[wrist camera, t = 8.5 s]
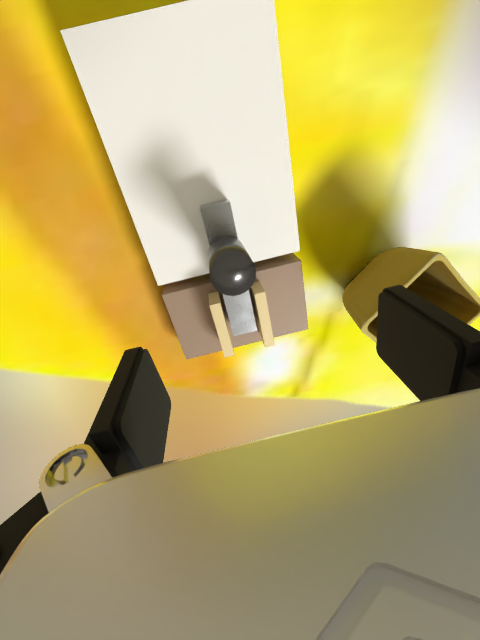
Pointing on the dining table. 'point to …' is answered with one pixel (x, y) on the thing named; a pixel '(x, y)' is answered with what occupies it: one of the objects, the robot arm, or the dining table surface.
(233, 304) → the bolt
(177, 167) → the slide latch panel
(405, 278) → the flower pot
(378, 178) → the dining table surface
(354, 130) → the dining table surface
